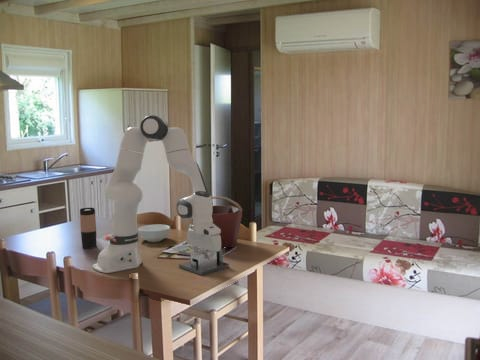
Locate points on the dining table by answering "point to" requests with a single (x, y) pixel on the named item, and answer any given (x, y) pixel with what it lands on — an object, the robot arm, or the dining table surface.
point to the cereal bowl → (154, 232)
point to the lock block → (203, 258)
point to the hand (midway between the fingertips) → (203, 257)
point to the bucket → (227, 222)
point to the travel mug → (88, 228)
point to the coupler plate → (207, 269)
